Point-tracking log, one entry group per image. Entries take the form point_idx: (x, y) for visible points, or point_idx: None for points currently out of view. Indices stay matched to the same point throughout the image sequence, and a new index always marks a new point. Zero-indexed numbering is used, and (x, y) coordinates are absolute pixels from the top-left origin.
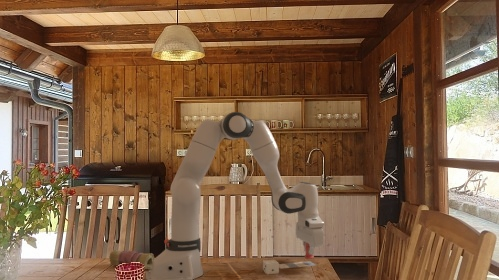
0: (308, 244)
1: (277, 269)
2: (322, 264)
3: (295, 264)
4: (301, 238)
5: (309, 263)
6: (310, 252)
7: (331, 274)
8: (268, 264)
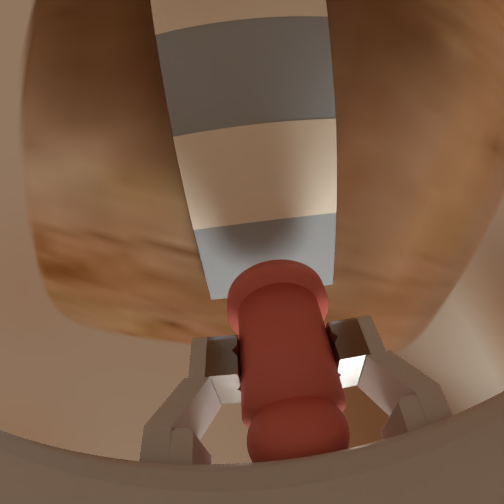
0: (254, 440)
1: None
2: None
3: (266, 123)
4: (456, 442)
5: None
6: (192, 358)
7: (67, 317)
8: None
